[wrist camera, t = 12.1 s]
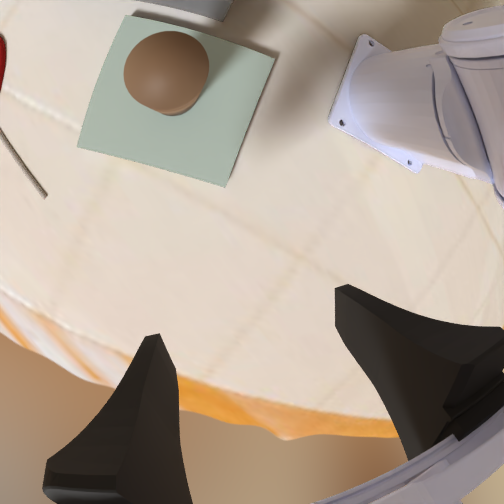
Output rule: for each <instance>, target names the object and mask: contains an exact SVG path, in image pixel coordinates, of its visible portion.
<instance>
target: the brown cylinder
mask: <svg viewBox="0 0 504 504" xmlns="http://www.w3.org/2000/svg"><path fill="white" fill-rule="evenodd" d="M208 73H209V59H208V55H207V53H206V51H205V49H204V47H203V46H202V45H201V43H200V42H199V41H198V40H196V39H195V38H194V37H192V36H190V35H188V34H186V33H183V32H178V31H163V32H158V33H155V34H152V35H150V36H148V37H146V38H144V39H143V40H142V41H140V42H139V43H138V44H137V45H136V46H135V47H134V48H133V49H132V51H131V52H130V53H129V55H128V57H127V59H126V62H125V66H124V73H123V74H124V82H125V86H126V88H127V90H128V92H129V93H130V95H131V96H132V97H133V98H134V99H135V100H136V101H137V102H139V103H140V104H142V105H144V106H146V107H148V108H150V109H152V110H155V111H157V112H159V113H161V114H163V115H166V116H178V115H182V114H184V113H186V112H188V111H189V110H190V109H191V108H192V107H193V106H194V105H195V103H196V101H197V99H198V97H199V95H200V93H201V91H202V89H203V87H204V85H205V82H206V80H207V77H208Z"/></svg>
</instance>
